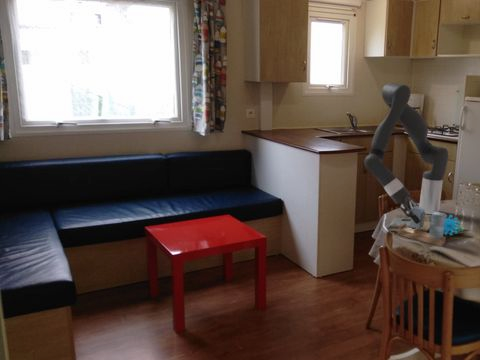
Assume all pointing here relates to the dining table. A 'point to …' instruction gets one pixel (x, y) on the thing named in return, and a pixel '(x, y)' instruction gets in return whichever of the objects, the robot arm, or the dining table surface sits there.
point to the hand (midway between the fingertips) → (420, 220)
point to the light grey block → (420, 214)
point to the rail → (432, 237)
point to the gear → (451, 225)
